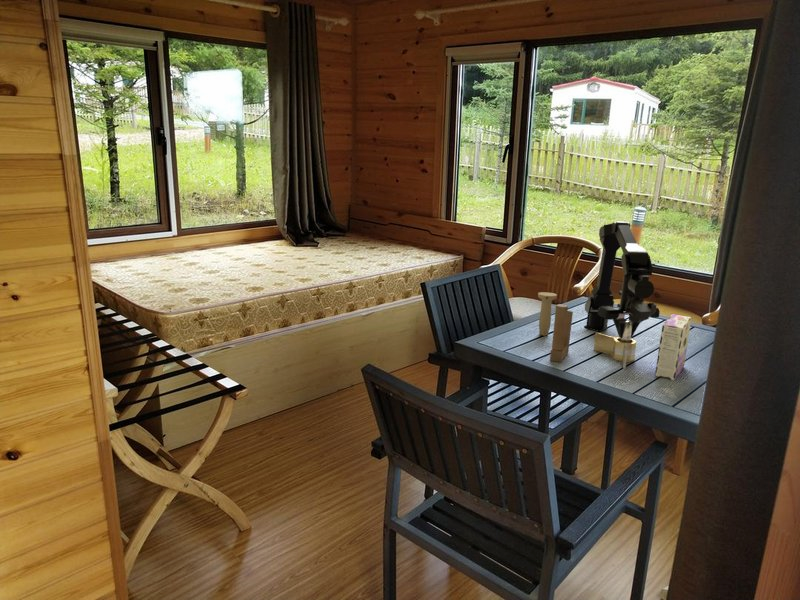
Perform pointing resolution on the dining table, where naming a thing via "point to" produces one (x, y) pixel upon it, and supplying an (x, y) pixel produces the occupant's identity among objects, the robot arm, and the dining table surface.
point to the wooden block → (561, 333)
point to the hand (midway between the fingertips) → (625, 337)
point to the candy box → (673, 346)
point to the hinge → (615, 348)
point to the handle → (545, 312)
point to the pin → (627, 332)
